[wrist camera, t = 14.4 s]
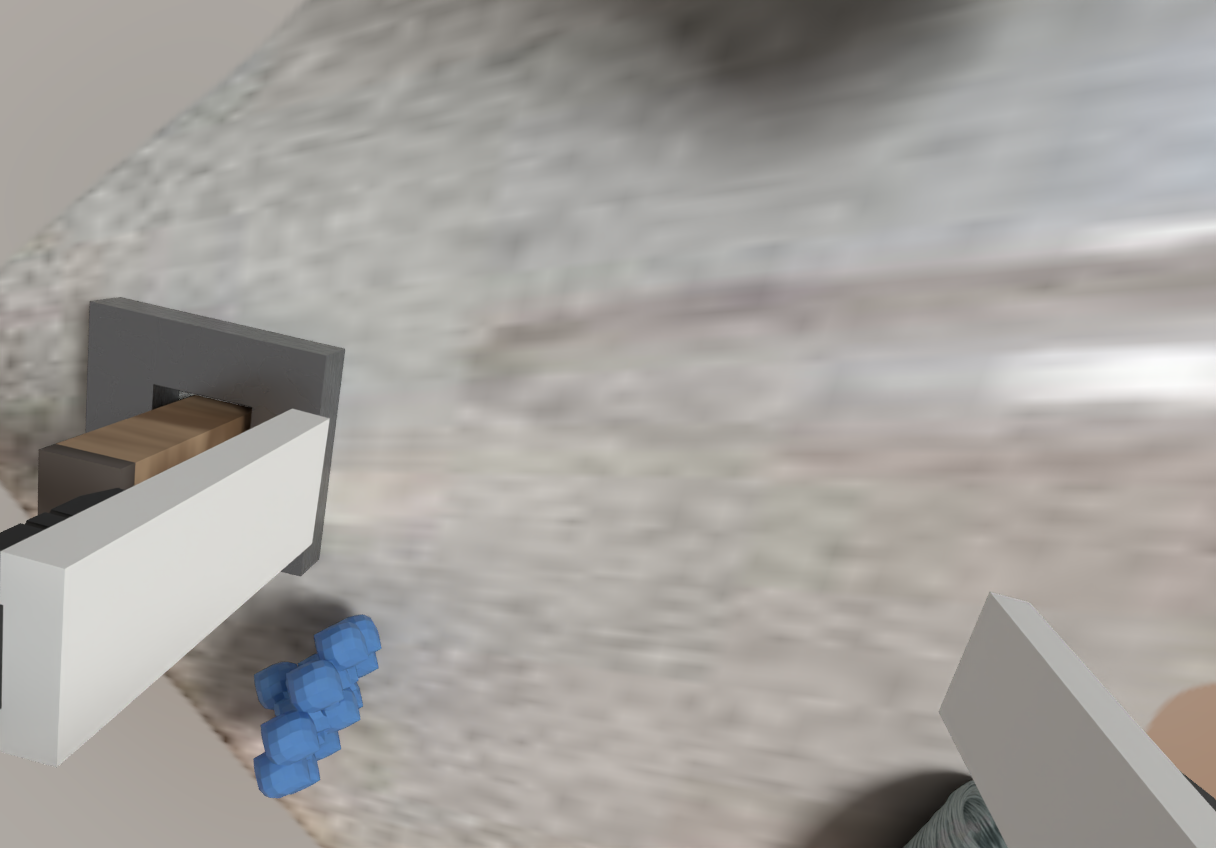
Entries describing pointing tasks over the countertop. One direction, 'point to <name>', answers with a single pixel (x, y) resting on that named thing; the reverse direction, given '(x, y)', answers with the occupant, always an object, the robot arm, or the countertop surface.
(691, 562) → the countertop surface
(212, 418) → the wooden block
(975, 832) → the spool
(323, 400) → the gray square hole plate
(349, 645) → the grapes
